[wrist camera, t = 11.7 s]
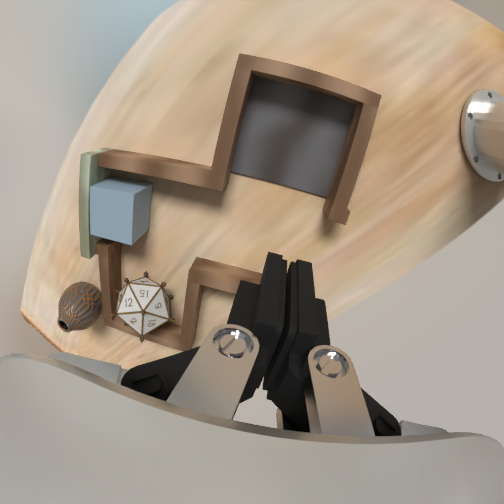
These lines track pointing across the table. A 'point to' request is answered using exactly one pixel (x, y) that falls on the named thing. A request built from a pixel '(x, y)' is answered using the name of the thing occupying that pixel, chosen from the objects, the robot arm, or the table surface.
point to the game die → (143, 305)
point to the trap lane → (247, 168)
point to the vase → (79, 307)
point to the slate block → (120, 209)
